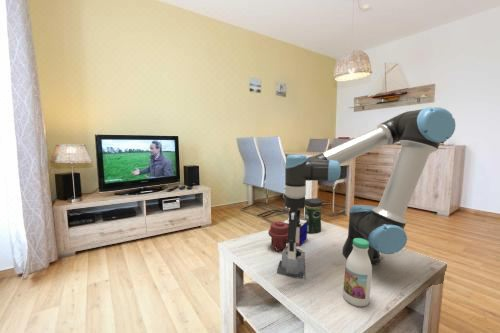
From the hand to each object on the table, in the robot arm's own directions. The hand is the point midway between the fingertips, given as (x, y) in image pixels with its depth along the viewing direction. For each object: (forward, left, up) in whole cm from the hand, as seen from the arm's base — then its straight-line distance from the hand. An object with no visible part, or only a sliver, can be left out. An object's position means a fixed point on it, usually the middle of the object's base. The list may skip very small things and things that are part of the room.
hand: (293, 249), depth 89 cm
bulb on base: (+1, 0, -9) cm, 9 cm away
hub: (0, 0, -7) cm, 7 cm away
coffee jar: (-5, -44, -9) cm, 45 cm away
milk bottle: (-21, +9, -9) cm, 25 cm away
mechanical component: (+9, -17, -9) cm, 21 cm away
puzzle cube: (+3, -28, -9) cm, 29 cm away
